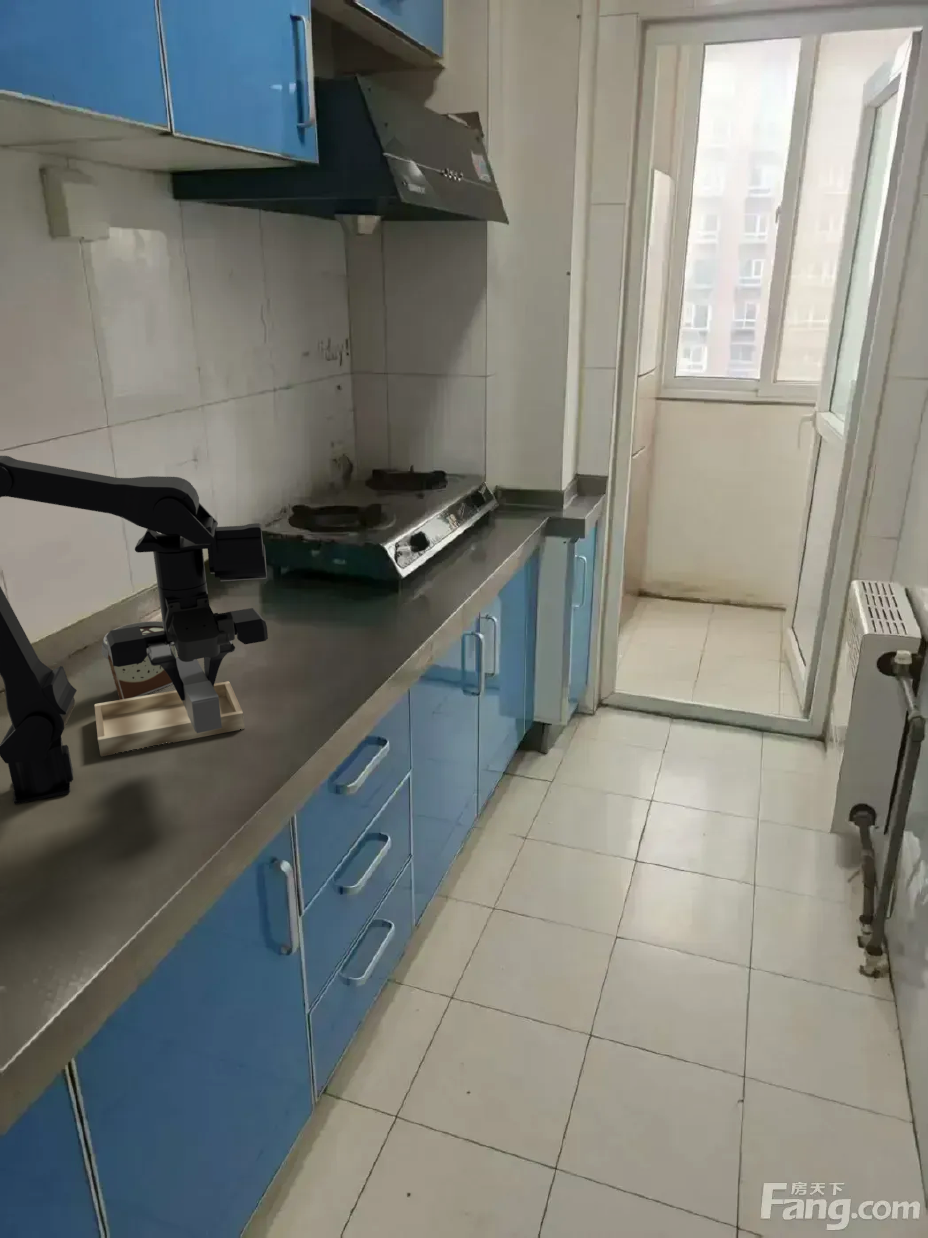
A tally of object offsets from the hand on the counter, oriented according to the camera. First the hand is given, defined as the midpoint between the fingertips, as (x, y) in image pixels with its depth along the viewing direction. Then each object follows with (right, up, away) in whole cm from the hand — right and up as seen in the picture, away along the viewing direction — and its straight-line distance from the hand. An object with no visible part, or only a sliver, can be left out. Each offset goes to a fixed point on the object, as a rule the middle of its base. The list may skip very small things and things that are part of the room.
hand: (195, 696), depth 110 cm
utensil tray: (-9, -5, +16) cm, 19 cm away
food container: (-18, -1, +27) cm, 33 cm away
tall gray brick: (0, -1, 0) cm, 1 cm away
